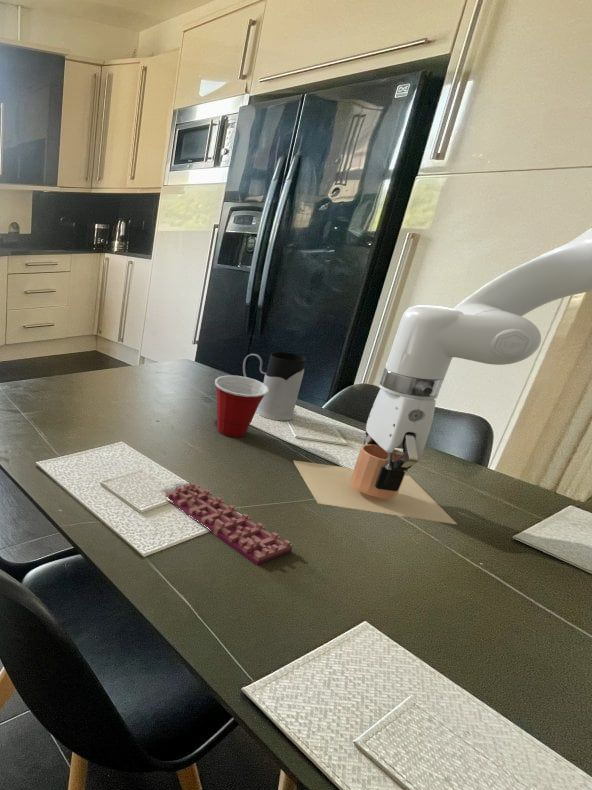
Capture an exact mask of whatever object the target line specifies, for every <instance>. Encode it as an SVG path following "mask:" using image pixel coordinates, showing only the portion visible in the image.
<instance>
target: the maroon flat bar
mask: <svg viewBox="0 0 592 790" xmlns="http://www.w3.org/2000/svg"><path fill="white" fill-rule="evenodd" d="M212 494H213V493H212V492H211V491H210V490H209V489H207V488H206V489H204V490H203V489H202V488H201V485H200V484H197V483H194V482H189V484H188V483H186V484H184V485H183V488H182V487H180V486H176V487H175V488H174V490H172V491H168V492H166V493H165V498H166V497H168V498H169V499H170V500H172V501H173V503H174V505H175V506H174V505H173V506H174V507H176V506H177V507H178V508H180V509H181V510H183V511H184V512H186V513H187V514H188V515H190V516H192V517H193V518H194V519H196V520H198V521H199V522H200V523H202V524H203V525H205V526H206V527H208V528H209V529H210V530H211V532H210V533H211V534H213V535H215V536H216V537H217V538H219V539H220V540H221V541H223V542H224V543H225V544H227V545H228V546H229V547H231V548H232V549H233V550H235V551H237V552H238V553H239V554H241V555H242V556H243V557H245V558H246V559H248V560H249V561H251V562H252V563H253V564H255V565H256V566H258V565H261V564H264V563H266V562H269V561H272V560H274V559H277V558H279V557H282V556H284V555H287V554H290V553H292V550H293V546H294V545H293V544H292V542H291V541H289V540H288V539H285V540H282V539H281V538H282V537H281V536H280V534H279V533H277V532H275V531H274V532H271V533H270V532H269V531H268V530H266V526H264V524H263V523H261V522H257V523H255V522H254V521H252V520H251V519H252V518H251V517H250V516H249V515H248V513H243V514H241V513H239V512H238V509H237V508H236V506H234V505H232V504H229V505H227V504H226V503H225V500H223V498H222V497H221V496H218V497H214V496H212ZM177 507H176V508H177ZM178 508H177V509H178ZM180 509H179V510H180ZM181 510H180V511H181ZM184 512H183V513H184ZM187 514H186V515H187ZM188 515H187V516H188ZM194 519H193V520H194Z"/></svg>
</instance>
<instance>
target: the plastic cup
mask: <svg viewBox="0 0 592 790" xmlns="http://www.w3.org/2000/svg"><path fill="white" fill-rule="evenodd" d="M214 385H215V387H216V396H217V397H216V398H217V399H216V401H217V402H216V420H217V421H216V424H217V425H216V428H217V432H218V433H219V434H221V435H222V436H226V437H230V438H243V437H244V436H245V435H246V433H247V431H248V429H249V427H250V424H251V423H252V421H253V419H254V416H255V414H256V410H257V408H258V406H259V403H260V402H261V400H262V398H263V397H264V395H265V394H267V393H268V391H269V390H268V387H267V386H266V385H265V384H264V383H263V382H262V381H260V380H258V379H254V378H251V377H247V376H246V377H244V376H243V375H242V376H241V375H222V376H218V377H217V378H215V380H214Z"/></svg>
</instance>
